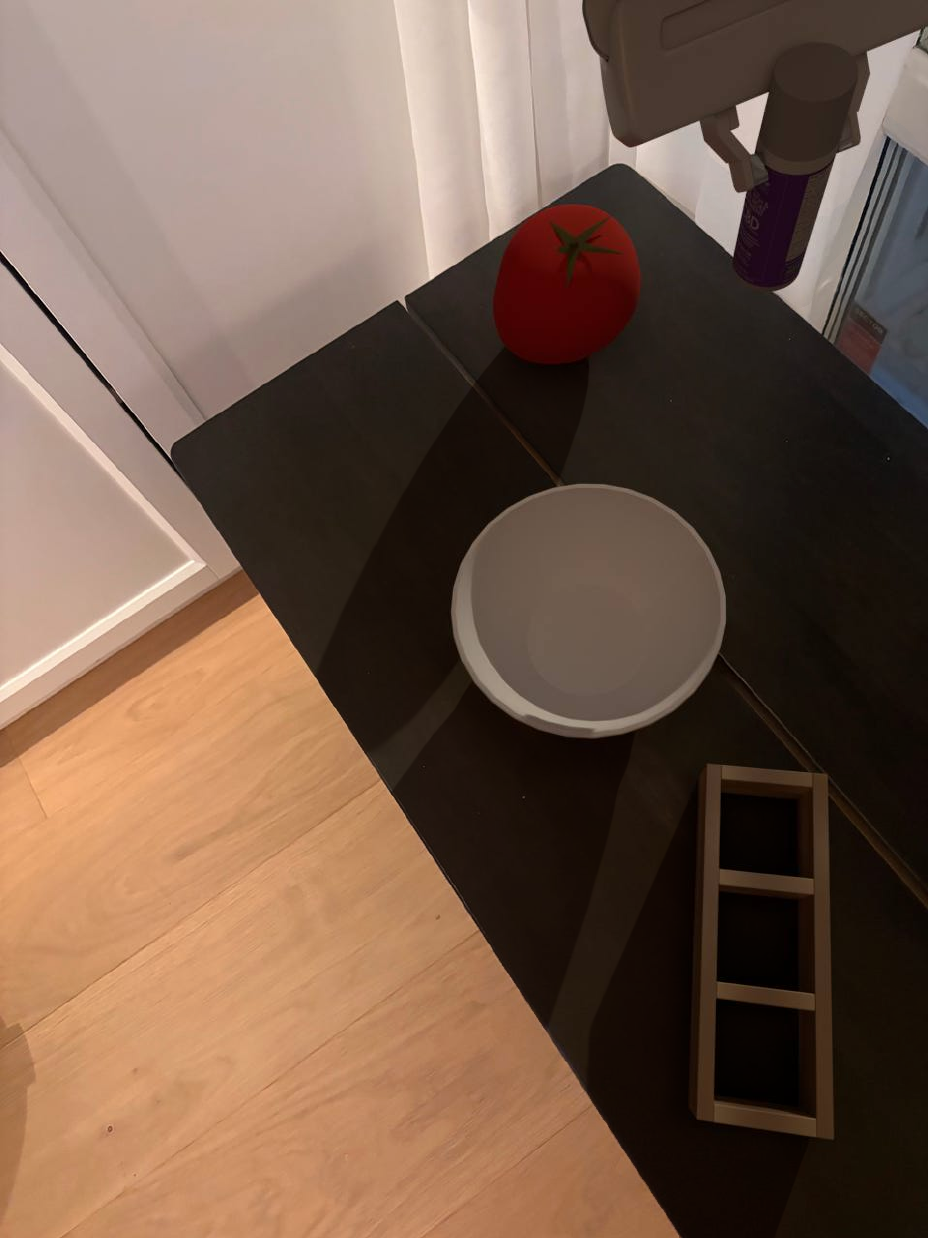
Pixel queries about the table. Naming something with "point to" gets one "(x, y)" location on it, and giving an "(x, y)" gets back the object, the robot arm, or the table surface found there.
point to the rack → (812, 952)
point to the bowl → (588, 611)
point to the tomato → (565, 285)
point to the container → (793, 162)
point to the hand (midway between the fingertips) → (798, 168)
